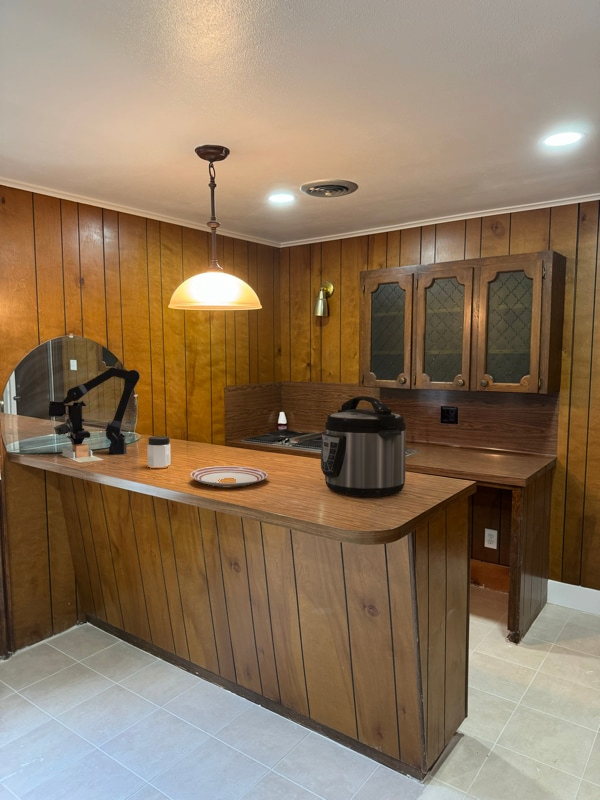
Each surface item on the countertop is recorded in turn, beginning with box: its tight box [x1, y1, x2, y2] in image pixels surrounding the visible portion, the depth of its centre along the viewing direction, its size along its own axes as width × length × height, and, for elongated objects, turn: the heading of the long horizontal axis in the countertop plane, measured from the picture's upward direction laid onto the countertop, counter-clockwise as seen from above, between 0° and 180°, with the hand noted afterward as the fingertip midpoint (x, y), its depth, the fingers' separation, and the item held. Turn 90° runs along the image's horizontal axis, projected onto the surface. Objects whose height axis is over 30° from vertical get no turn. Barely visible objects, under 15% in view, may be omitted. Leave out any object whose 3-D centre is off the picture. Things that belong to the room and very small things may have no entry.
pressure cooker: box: [320, 395, 407, 498], centre depth 187 cm, size 30×28×32 cm
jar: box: [146, 435, 171, 467], centre depth 222 cm, size 9×8×12 cm
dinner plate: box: [189, 465, 269, 487], centre depth 198 cm, size 28×27×3 cm
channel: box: [59, 447, 104, 463], centre depth 235 cm, size 24×10×4 cm, turn 41°
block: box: [71, 443, 90, 458], centre depth 235 cm, size 5×5×5 cm
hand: (76, 452), depth 239 cm, fingers closed
